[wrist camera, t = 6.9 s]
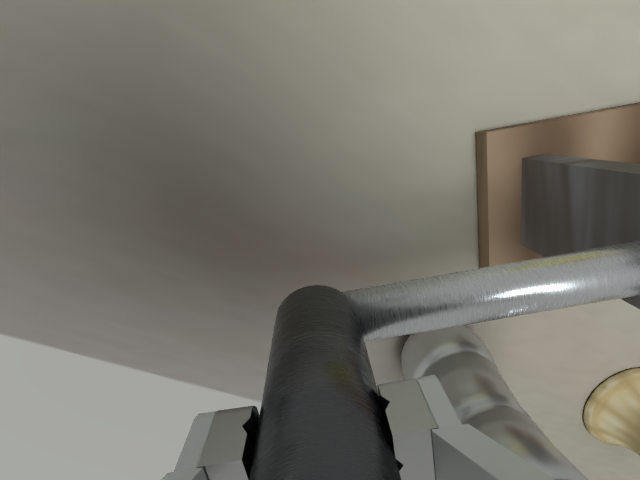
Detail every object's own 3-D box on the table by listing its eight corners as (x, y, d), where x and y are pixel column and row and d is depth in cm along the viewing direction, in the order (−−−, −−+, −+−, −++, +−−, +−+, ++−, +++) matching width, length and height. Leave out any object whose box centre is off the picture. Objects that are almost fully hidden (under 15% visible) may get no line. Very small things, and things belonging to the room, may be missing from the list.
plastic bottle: (477, 307, 27) (872, 722, 8) (468, 378, 29) (765, 839, 10) (396, 310, 27) (607, 741, 8) (392, 381, 29) (553, 857, 10)
